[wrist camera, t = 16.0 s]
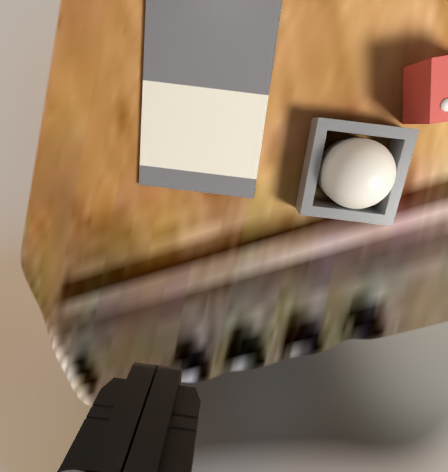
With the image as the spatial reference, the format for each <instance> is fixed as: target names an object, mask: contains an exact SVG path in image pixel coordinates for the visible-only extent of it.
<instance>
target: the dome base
mask: <svg viewBox="0 0 448 472" xmlns="http://www.w3.org/2000/svg"><path fill="white" fill-rule="evenodd" d="M327 131H335V132H343V133H351V134H360V135H368V136H376V137H384V138H391V141H390V145H389V149H388V150H389V152H390V153H391V154H392V156H393V158H394V161H395V164H396V178H395V182H394V185H393V187H392V189H391V190H390V192H389V193H388V195H387V196H386V197H385V198H384V199H383V200H381V201H380V202H378V203H377V204H375V205H374V207H373V208H372V207H367V208H362V209H351V208H346V207H343V206H341V205H339V204H337V203H332V202H323V201H315V200H314V195H315V190H316V185H317V180H318V175H319V170H320V165H321V160H322V155H323V150H324V145H325V140H326V135H327ZM418 133H419V129H411V128H403V127H395V126H387V125H379V124H370V123H362V122H354V121H346V120H337V119H329V118H321V117H315V118H312V120H311V125H310V131H309V136H308V142H307V147H306V152H305V158H304V163H303V169H302V174H301V179H300V185H299V190H298V196H297V201H296V207H295V208H296V209H297V211H298V212H299V214H300V215H306V216H315V217H323V218H331V219H339V220H347V221H355V222H363V223H372V224H380V225H388V226H393V222H394V219H395V215H396V211H397V208H398V204H399V201H400V197H401V194H402V190H403V186H404V183H405V179H406V176H407V172H408V169H409V165H410V161H411V158H412V154H413V151H414V147H415V144H416V140H417V136H418Z"/></svg>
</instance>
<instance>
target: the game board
mask: <svg viewBox="0 0 448 472" xmlns="http://www.w3.org/2000/svg"><path fill="white" fill-rule="evenodd" d="M281 6H282V0H146V12H145V38H144V64H143V91H142V117H141V143H140V169H139V185H147V186H156V187H164V188H172V189H180V190H188V191H196V192H205V193H213V194H221V195H229V196H237V197H245V198H254V193H255V186H256V179H257V172H258V165H259V158H260V151H261V144H262V137H263V130H264V124H265V117H266V110H267V103H268V96H269V89H270V82H271V75H272V68H273V61H274V54H275V48H276V41H277V34H278V27H279V20H280V13H281Z"/></svg>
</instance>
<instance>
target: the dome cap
mask: <svg viewBox="0 0 448 472" xmlns="http://www.w3.org/2000/svg"><path fill="white" fill-rule="evenodd" d="M395 178H396V164H395V161H394V158H393V156H392V154H391V153H390V152H389V150H388V149H387V148H386V147H385V146H383V145H382V144H381V143H379V142H377V141H374V140H371V139H366V138H358V137H349V138H344V139H341V140H339V141H337V142H335V143H333V144H332V145H331V146H329V147H328V148H327V149H326V150H325V152H324V153H323V155H322V160H321V165H320V170H319V175H318V183H319V186H320V188H321V189H322V191H323V192H324V193H325V194H326V195H327V196H328V197H329V198H331V199H332V200H333V201H334V202H336V203H337V204H339V205H341V206H343V207H346V208H351V209H362V208H367V207H370V206H373V205H375V204H377V203H378V202H380V201H381V200H383V199H384V198H385V197H386V196H387V195H388V193H389V192H390V190H391V189H392V187H393V185H394V182H395Z"/></svg>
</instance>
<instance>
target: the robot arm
mask: <svg viewBox="0 0 448 472" xmlns="http://www.w3.org/2000/svg"><path fill="white" fill-rule="evenodd" d="M181 376H182V368H177V367H169V366H161V365H159V366H158V365H152V364H144V363H136V362H135V363H134V364H133V366H132V368H131V370H130V372H129V375H128V377H127V379H120V378H113V379H112V380H111V381H110V382H108V383H107V384H106V385H105V386H104V387H103V388H102V389H101V390H100V392H99V393H98V395H97V397H96V399H95V401H94V403H93V406H92V407H91V409H90V411H89V413H88V415H87V418H86V419H85V420H84V422H83V424H82V426H81V428H80V430H79V432H78V434H77V436H76V438H75V440H74V441H73V444H72V445H71V447H70V449H69V451H68V453H67V455H66V457H65V459H64V461H63V463H62V464H61V466H60V468H59V470H58V471H57V472H192V465H193V458H194V451H195V443H196V435H197V426H198V418H199V409H200V399H199V396H198V393H197V390H196V388H193V387H185V386H181Z"/></svg>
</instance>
